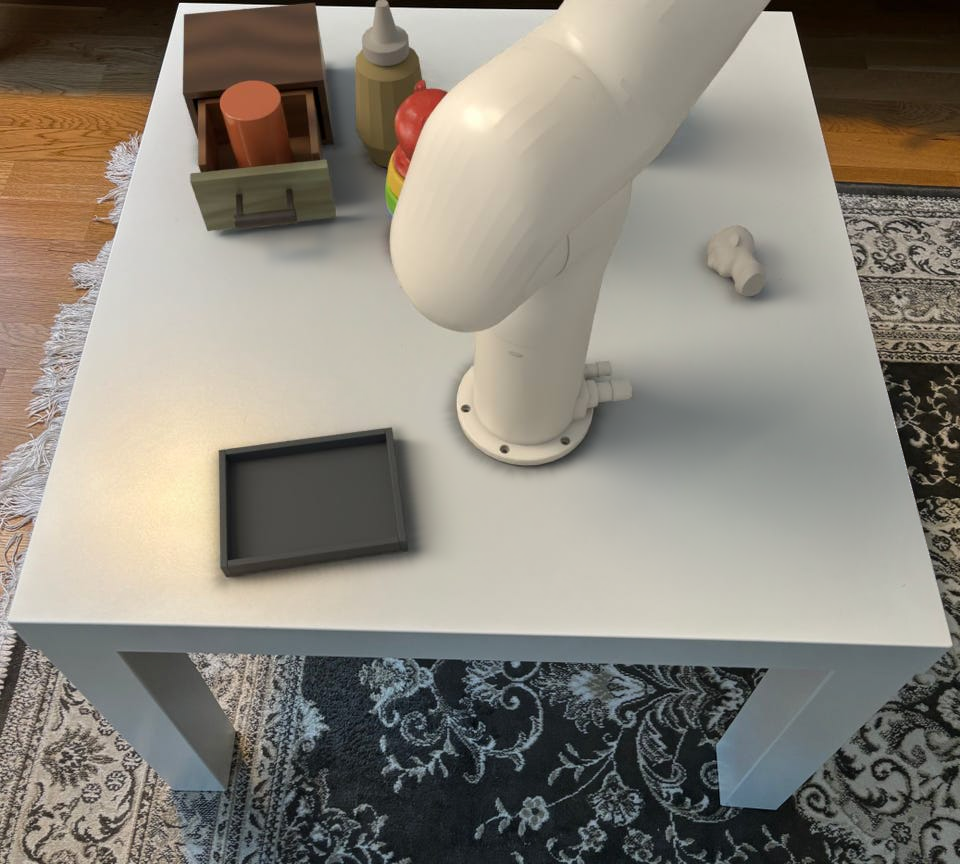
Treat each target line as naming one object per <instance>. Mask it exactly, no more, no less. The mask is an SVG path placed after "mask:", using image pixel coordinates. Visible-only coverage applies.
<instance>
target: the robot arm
mask: <svg viewBox="0 0 960 864" xmlns="http://www.w3.org/2000/svg"><path fill="white" fill-rule="evenodd" d="M771 1H772V0H563V2H562V3H561V4H560V5H559V7H558V9H556V10H555V12H553V14H552V15H551V16H549V17H548V18H547V19H545V20H544V21H543V22H542V23H540V24H538V26H537V27H535V28H534V29H532V30H531V31H530V32H528V33H527V34H526V35H524V36H523V37H521V38H520V39H518V40H517V41H516V42H515V43H513V44H512V45H510V46H509V47H508V48H507V49H504V50H503V51H502V52H500V53H498V54H496V56H493V58H491V59H490V60H488V61H487V62H486V63H484V64H483V65H481V66H479V67H478V68H477V69H476V70H474V71H472V72H471V73H469V75H467V76H466V77H465V78H463V79H462V80H460V81H459V82H458V83H457V84H456V85H454V87H452V88H451V89H450V91H447V92H448V93H447V94H446V96H445V97H444V98H443V99H442V100H441V101H440V103H439V104H438V105H437V106H436V108H435V109H434V110H433V112H432V113H431V115H430V116H429V118H428V119H427V121H426V123H425V125H424V127H423V129H422V131H421V134H420V136H419V139H418V142H417V144H416V147H415V150H414V153H413V156H412V159H411V162H410V165H409V168H408V171H407V174H406V177H405V180H404V183H403V186H402V189H401V192H400V196H399V199H398V202H397V205H396V208H395V211H394V214H393V218H392V220H391V223H390V229H389V252H390V258H391V259H390V260H391V263H392V264H391V265H392V267H393V270H394V274H395V276H396V279H397V281H398V283H399V286H400V288H401V289H402V291H403V293H404V295H405V297H406V298H407V300H408V301H409V302H410V304H411V305H412V306H413V307H414V309H416V310H417V311H418V313H420V314H421V315H422V316H423V317H424V318H426V319H427V320H429V322H432V323H433V324H435V325H437V326H438V327H441V328H444V329H446V330H450V331H453V332H457V333H458V332H459V333H467V334H468V333H469V334H470V333H473V365H471V366H470V367H469V369H468V370H467V372H465V374H464V375H463V377H462V379H461V382H460V383H459V386H458V389H457V394H456V413H457V419H458V422H459V424H460V428H461V430H462V432H463V433H464V434H465V436H466V437H467V439H468V440H469V441H470V442H471V443H472V444H473V445H474V447H475V448H477V449H478V450H479V451H481V452H482V453H483V454H485V455H487V456H488V457H490V458H493V459H495V460H497V461H499V462H503V463H506V464H510V465H517V466H539V465H543V464H548V463H551V462H554V461H557V460H559V459H561V458H563V457H564V456H566V455H568V454H569V453H571V452H572V451H574V450H575V449H576V448H577V446H578V445H579V444H581V443H582V441H583V440H584V438H585V437H586V435H587V434H588V432H589V429H590V426H591V424H592V419H593V416H594V408H597V407H598V406H599V403H605V402H617V401H626V400H632V397H633V388H632V383H631V380H630V378H627V377H626V378H618V379H611V380H610V379H609V380H608V381H604V382H596V381H595V380H594V379H590V378H601V377H609V376H612V374H613V373H612V372H613V371H612V370H613V369H612V363H611V361H610V360H602V361H596V362H592V363H586V361H587V356H588V352H589V345H590V340H591V335H592V329H593V325H594V319H595V315H596V313H597V307H598V301H599V297H600V291H601V288H602V283H603V279H604V275H605V274H606V273H605V272H606V270H607V266H608V264H609V261H610V258H611V256H612V254H613V252H614V249H615V246H616V244H617V241H618V240H619V238H620V234H621V232H622V230H623V227H624V223H625V221H626V218H627V215H628V213H629V209H630V203H631V198H632V193H633V189H632V188H633V180H634V179H635V178H636V177H637V176H638V175H640V173H642V172H643V171H644V170H645V169H646V168H647V167H648V166H649V165H650V164H651V163H653V161H654V160H655V159H656V158H657V157H658V156H659V155H660V153H661V152H662V151H663V150H664V149H665V148H666V146H667V145H668V143H669V142H670V141H671V140H672V138H673V136H674V135H675V133H676V132H677V131H678V129H679V127H680V126H681V125H682V123H683V122H684V120H685V118H686V117H687V116H688V115H689V113H690V112H691V110H692V108H693V107H694V105H696V103H697V102H698V100H699V99H700V98H701V96H702V95H703V93H704V92H705V91H706V90H707V88H709V86H710V84H712V82H713V80H714V79H715V78H716V76H717V75H718V74H719V72H720V71H721V70H722V68H723V67H724V66H725V64H726V63H727V62H728V60H730V58H731V57H732V55H733V54H734V53H735V52H736V50H737V48H738V47H739V45H740V44H741V42H742V41H743V40H744V38H745V37H746V35H747V33H748V32H749V31H750V29H751V28H752V26H753V25H754V24H755V22H756V21H757V19H759V17H760V16H761V14H762V13H763V11H764V10H765V8H766V7H767V6H768V5H769V4H770V2H771Z"/></svg>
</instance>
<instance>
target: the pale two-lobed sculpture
mask: <svg viewBox="0 0 960 864" xmlns="http://www.w3.org/2000/svg"><path fill="white" fill-rule="evenodd" d="M755 247H756V243H755V238H754V236H753V234H752V233H751V231H749V230H748V229H747V228H746V227H743V226H741V225H730V226H729V225H728V226H726V227H723V228H722V229H719V230H718V231H717V232H716V233H715V234H713V236H712V237H711V238H710V240H709V242H708V245H707V249H706V254H707V267H708V268H709V269H711V270H714V271H715V272H717V273H718V274H719V276H720V277H722V278H732V280H733V281H734V287H733V288H734V291H735V293H737V294H738V295H741V296H744V297H754V296H756V295H758V294H759V293H760V292H761V291H762V289H763V287H764V284H765V281H766V274H767V270H766V267H765V265H764V264H762V263H761V262H758V261H757V259H756V258H755V257H754V256H755V255H754V253H755Z"/></svg>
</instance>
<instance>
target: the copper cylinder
mask: <svg viewBox="0 0 960 864" xmlns="http://www.w3.org/2000/svg"><path fill="white" fill-rule="evenodd" d="M220 108H221V111H222V115H223V118H224V122H225V125H226V129H227V132H228V135H229V139H230V142H231V146H232V149H233V153H234V156H235V160H236V163H237V167H238V168H248V167H258V166H268V165H277V164H287V163H295V160H294V156H293V151H292V146H291V142H290V137H289V132H288V128H287V123H286V119H285V114H284V109H283V105H282V100H281V95H280V93H279V91H278V90H277V89H276V88H275V87H274V86H273V85H271V84H269V83H266V82H263V81H244V82H240V83H237V84H235V85H233V86H231V87H230V88H228V89H227V90H226V91H225V92H224V93H223V95H222V96H221V99H220Z"/></svg>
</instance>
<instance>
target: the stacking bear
mask: <svg viewBox="0 0 960 864" xmlns="http://www.w3.org/2000/svg"><path fill="white" fill-rule="evenodd" d="M448 92H449V91H446V90H444V89H440V88H434V87H433V88H431V87H430V88H427V82H426V80H425V79H422V80H420V81H419V82H417V84H416V85H415V88H414V94H412V95H410V96H409V97H408V98H407V99H406V100H405V101H404V102H403V103H402V104H401V106H400V107H399V109H398V111H397V114H396V117H395V130H396V135H397V139H398V142H399V144H398V146H397V147H396V149H395V151H394V152H393V154H392V156H391V159H390V162H389V166H388V168H387V174H386V177H385V187H384V195H385V204H386V208H387V211H388V212H387V213H388V215H389V219H390V220H391V221H392V218H393V214H394V211H395V208H396V205H397V202H398V199H399V196H400V192H401V189H402V186H403V183H404V180H405V177H406V174H407V171H408V168H409V165H410V162H411V159H412V156H413V153H414V150H415V147H416V144H417V142H418V139H419V136H420V134H421V131H422V129H423V127H424V125H425V123H426V121H427V119H428V118H429V116H430V115H431V113H432V112H433V110H434V109H435V108H436V106H437V105H438V104H439V103H440V101H441V100H442V99H443V98H444V97H445V96H446V94H447V93H448Z"/></svg>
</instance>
